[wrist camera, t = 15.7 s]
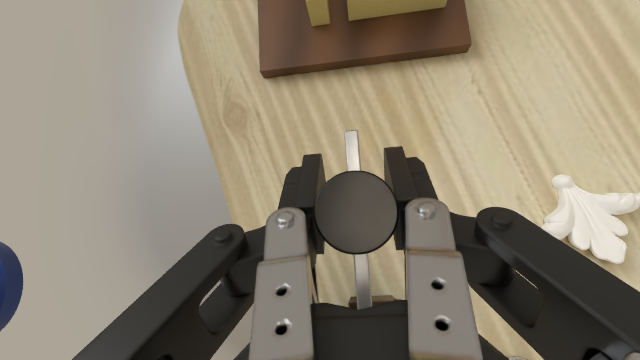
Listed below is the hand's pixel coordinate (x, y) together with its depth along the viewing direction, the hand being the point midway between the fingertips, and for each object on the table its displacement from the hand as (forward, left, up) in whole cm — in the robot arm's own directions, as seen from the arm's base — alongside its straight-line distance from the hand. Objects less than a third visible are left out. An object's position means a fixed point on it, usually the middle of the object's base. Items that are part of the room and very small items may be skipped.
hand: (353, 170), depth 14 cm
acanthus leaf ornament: (+13, +15, -20) cm, 28 cm away
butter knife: (+2, -1, -6) cm, 7 cm away
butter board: (-18, +15, -20) cm, 30 cm away
